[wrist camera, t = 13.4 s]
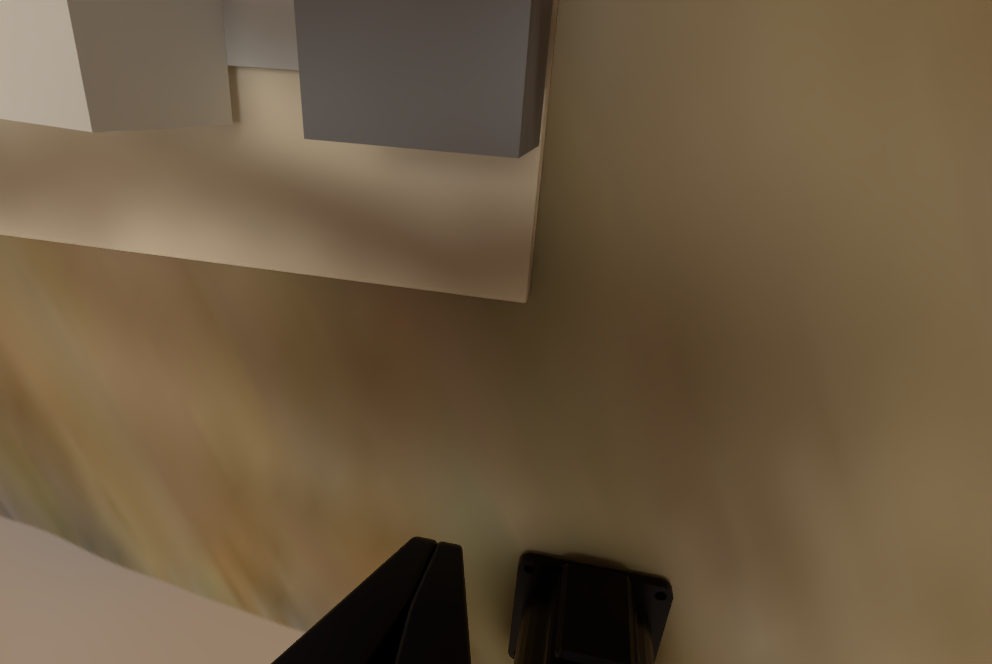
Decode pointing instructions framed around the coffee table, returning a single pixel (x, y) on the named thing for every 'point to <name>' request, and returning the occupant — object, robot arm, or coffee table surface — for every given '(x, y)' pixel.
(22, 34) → the module block
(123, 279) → the coffee table surface
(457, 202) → the rail panel
